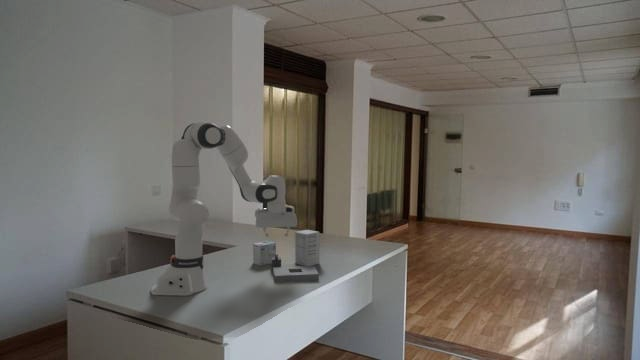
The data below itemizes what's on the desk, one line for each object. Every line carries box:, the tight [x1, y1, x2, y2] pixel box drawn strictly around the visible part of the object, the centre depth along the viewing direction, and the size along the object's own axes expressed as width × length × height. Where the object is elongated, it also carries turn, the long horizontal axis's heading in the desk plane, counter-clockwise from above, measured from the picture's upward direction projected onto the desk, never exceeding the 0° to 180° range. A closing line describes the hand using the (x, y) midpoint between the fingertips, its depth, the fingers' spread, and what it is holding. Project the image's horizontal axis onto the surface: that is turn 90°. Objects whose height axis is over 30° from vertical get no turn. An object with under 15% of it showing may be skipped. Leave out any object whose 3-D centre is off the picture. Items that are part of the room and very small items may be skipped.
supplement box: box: [294, 229, 321, 266], centre depth 231 cm, size 10×9×17 cm
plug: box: [271, 253, 282, 273], centre depth 219 cm, size 4×4×8 cm
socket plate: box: [272, 265, 320, 283], centre depth 209 cm, size 20×14×3 cm
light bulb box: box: [252, 240, 277, 267], centre depth 232 cm, size 11×7×11 cm, turn 134°
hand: (276, 236), depth 218 cm, fingers open, 8 cm apart
